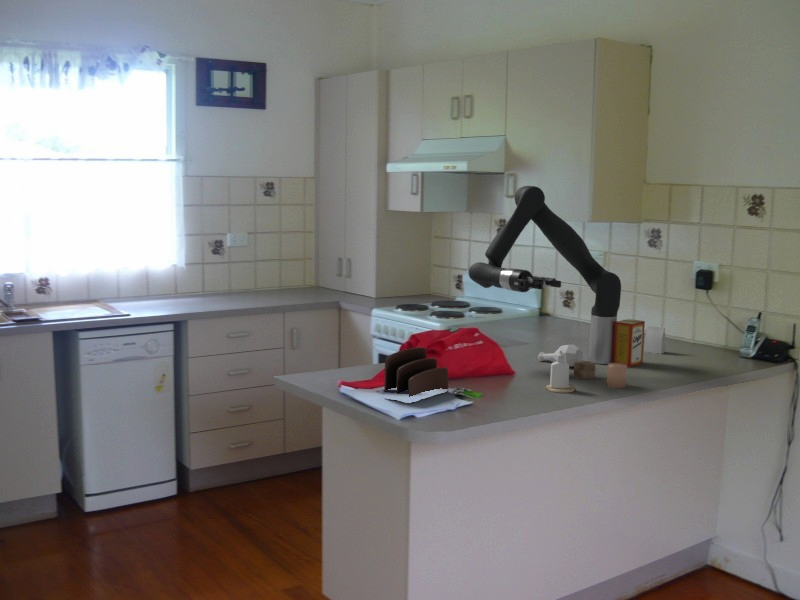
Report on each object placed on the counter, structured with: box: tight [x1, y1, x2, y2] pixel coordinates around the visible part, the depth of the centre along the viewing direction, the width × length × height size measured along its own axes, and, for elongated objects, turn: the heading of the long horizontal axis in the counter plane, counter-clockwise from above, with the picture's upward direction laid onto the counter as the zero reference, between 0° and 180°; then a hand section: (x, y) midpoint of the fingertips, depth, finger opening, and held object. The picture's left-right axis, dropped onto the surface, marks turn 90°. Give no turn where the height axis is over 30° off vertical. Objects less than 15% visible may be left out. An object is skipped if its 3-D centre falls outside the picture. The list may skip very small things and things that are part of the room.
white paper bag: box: [643, 325, 666, 355], centre depth 338 cm, size 4×7×10 cm, turn 52°
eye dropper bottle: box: [549, 350, 570, 389], centre depth 277 cm, size 4×6×12 cm
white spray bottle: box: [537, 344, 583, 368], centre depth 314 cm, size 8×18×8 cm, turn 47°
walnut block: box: [573, 359, 596, 380], centre depth 295 cm, size 5×5×5 cm
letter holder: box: [383, 346, 449, 397], centre depth 267 cm, size 10×20×14 cm, turn 141°
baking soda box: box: [613, 318, 645, 368], centre depth 316 cm, size 10×6×16 cm
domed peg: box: [606, 363, 628, 389], centre depth 283 cm, size 6×6×7 cm
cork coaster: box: [545, 384, 575, 394], centre depth 278 cm, size 9×9×1 cm
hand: (551, 285), depth 284 cm, fingers open, 8 cm apart
